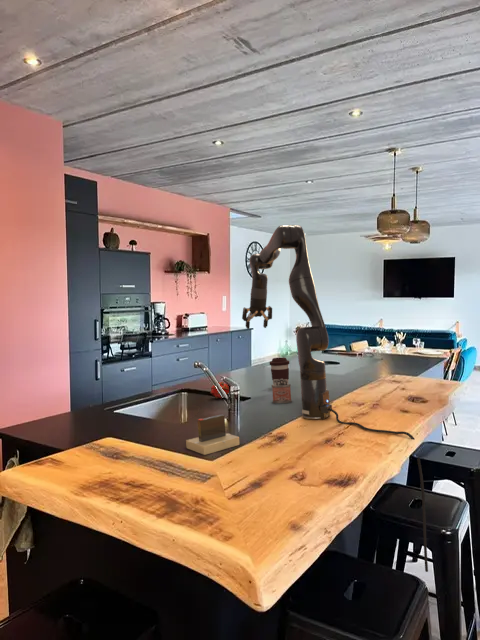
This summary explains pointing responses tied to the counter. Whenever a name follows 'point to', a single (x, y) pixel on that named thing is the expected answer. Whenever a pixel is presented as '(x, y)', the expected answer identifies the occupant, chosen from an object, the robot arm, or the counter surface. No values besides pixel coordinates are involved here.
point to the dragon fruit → (215, 392)
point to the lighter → (281, 391)
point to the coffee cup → (279, 369)
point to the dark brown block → (211, 428)
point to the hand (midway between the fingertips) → (256, 327)
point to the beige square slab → (212, 444)
